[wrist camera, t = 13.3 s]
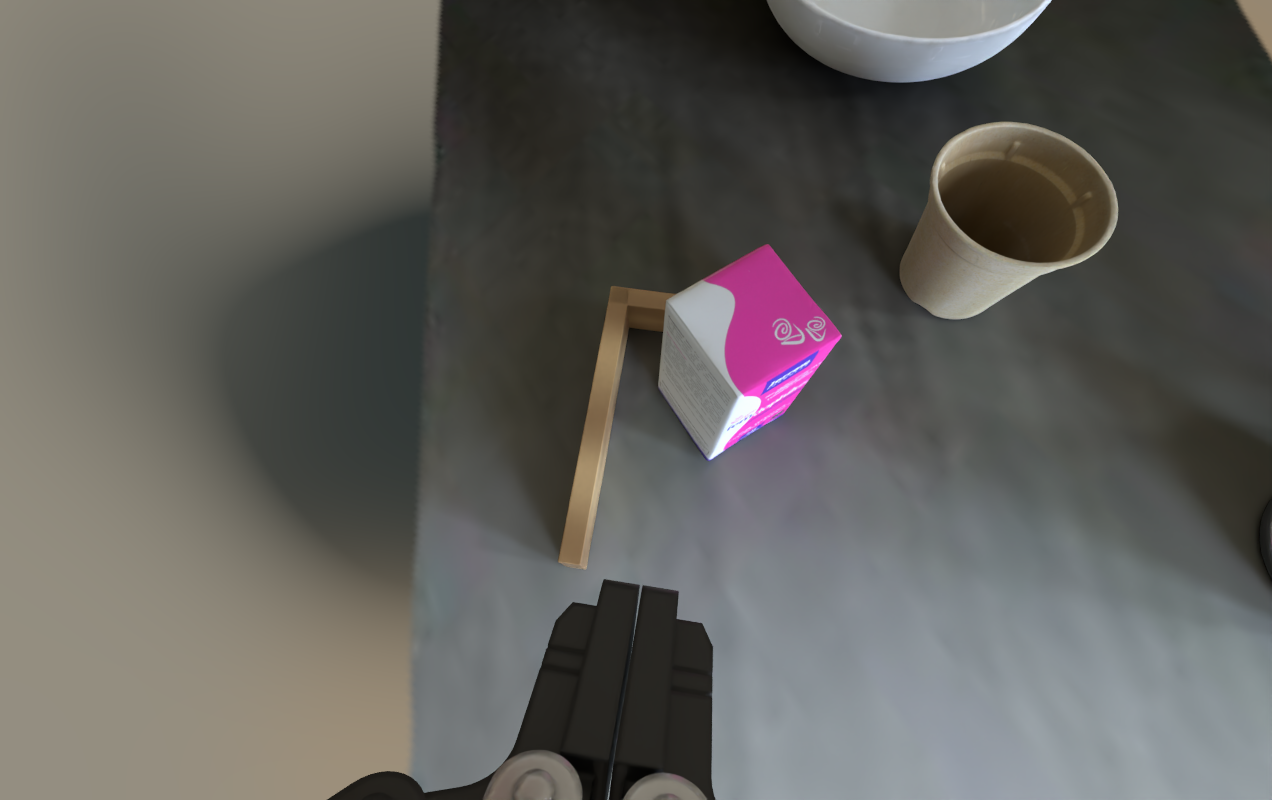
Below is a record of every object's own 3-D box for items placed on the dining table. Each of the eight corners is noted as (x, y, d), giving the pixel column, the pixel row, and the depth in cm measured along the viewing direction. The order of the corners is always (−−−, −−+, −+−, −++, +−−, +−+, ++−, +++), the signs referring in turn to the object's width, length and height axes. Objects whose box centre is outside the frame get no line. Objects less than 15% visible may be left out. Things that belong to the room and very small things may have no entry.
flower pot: (959, 198, 41) (1034, 96, 33) (1051, 304, 38) (1159, 219, 30) (846, 254, 40) (895, 161, 32) (932, 367, 37) (1012, 297, 29)
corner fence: (614, 309, 39) (611, 285, 36) (779, 330, 38) (789, 307, 35) (565, 566, 33) (557, 561, 30) (757, 597, 33) (767, 595, 30)
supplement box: (709, 466, 35) (735, 401, 24) (655, 387, 37) (657, 294, 26) (788, 417, 36) (847, 333, 25) (732, 342, 38) (764, 234, 27)
